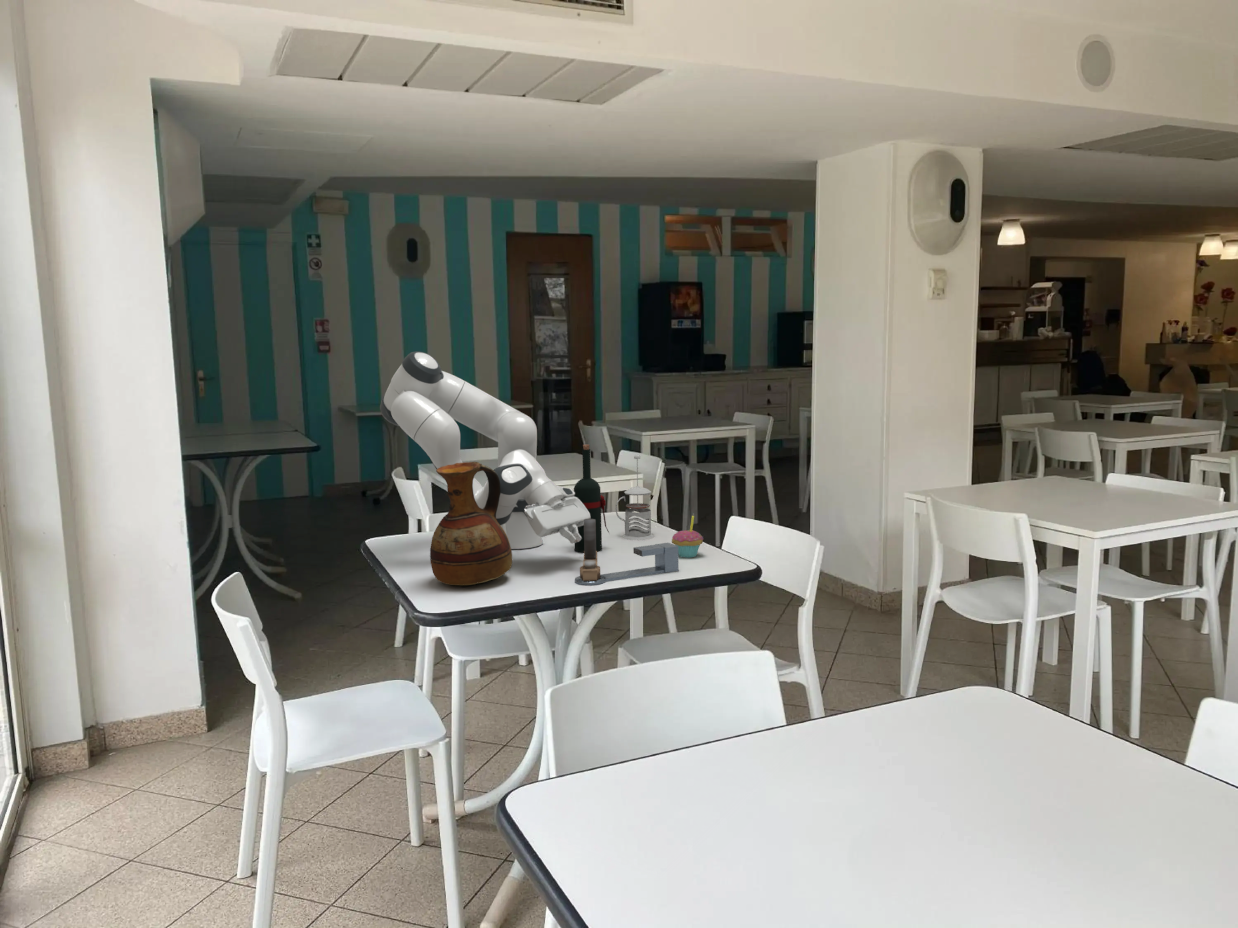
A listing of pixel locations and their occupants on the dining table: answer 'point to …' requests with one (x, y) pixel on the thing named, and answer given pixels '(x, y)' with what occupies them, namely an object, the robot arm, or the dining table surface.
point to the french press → (637, 514)
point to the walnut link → (590, 552)
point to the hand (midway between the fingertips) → (577, 541)
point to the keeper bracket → (663, 563)
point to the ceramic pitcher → (469, 531)
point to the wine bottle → (589, 501)
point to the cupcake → (687, 541)
